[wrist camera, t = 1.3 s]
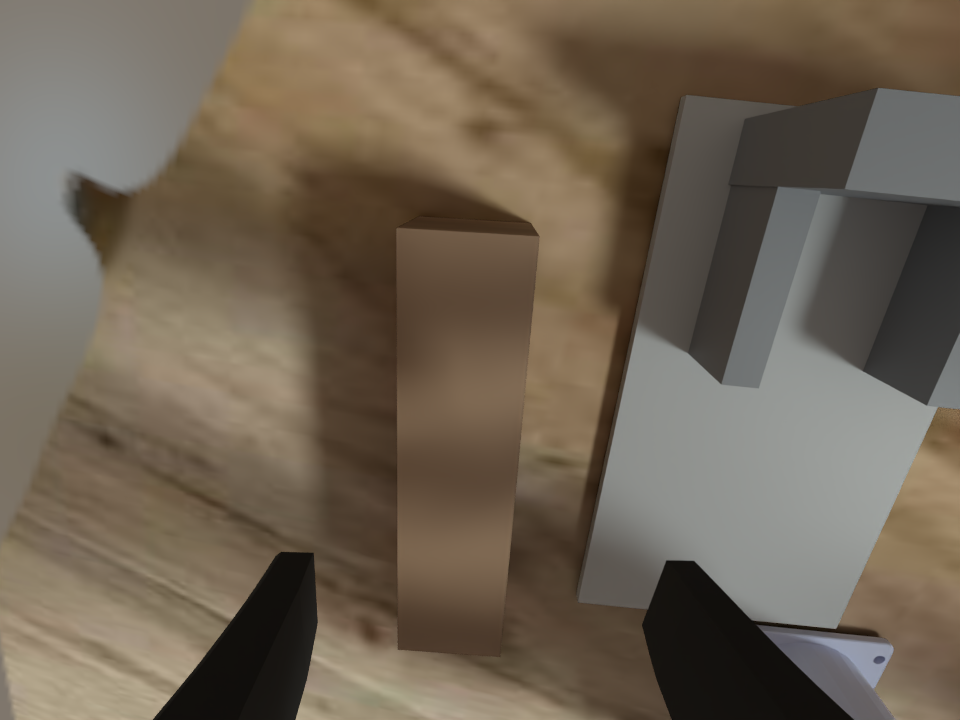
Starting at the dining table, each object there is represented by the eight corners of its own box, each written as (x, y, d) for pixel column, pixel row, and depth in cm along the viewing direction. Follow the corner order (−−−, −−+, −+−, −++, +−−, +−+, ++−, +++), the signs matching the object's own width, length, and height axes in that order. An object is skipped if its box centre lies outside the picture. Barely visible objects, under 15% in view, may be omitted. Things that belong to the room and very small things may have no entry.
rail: (499, 571, 24) (500, 656, 19) (415, 565, 24) (397, 649, 20) (530, 222, 18) (539, 236, 14) (420, 215, 18) (396, 227, 14)
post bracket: (829, 619, 24) (944, 774, 18) (576, 594, 24) (603, 739, 18) (1047, 134, 16) (1373, 110, 10) (681, 97, 16) (790, 50, 10)
